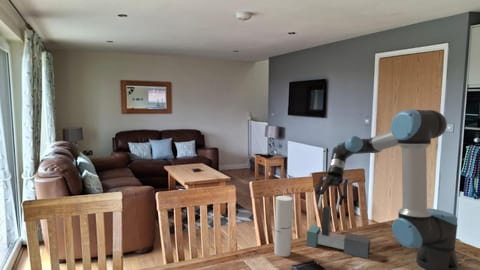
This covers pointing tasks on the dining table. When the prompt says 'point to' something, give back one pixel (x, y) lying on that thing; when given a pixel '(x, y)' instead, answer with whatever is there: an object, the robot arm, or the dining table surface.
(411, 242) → the robot arm
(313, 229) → the socket block
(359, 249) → the matte charcoal box
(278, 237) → the cylindrical container
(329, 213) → the gray bar with post
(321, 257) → the dining table surface
